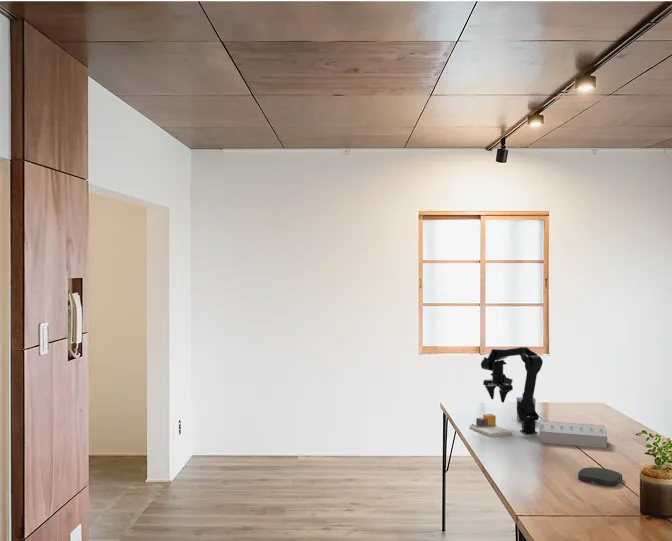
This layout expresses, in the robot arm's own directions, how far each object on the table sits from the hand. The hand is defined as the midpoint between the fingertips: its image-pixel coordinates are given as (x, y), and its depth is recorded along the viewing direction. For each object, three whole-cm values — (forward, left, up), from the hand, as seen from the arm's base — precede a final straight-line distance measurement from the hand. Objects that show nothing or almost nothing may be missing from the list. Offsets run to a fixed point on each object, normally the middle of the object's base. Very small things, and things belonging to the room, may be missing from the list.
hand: (497, 400), depth 343 cm
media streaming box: (-91, +18, -13) cm, 94 cm away
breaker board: (-13, +14, -12) cm, 23 cm away
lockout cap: (-7, +10, -10) cm, 16 cm away
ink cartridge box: (0, -19, -12) cm, 23 cm away
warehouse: (-43, -12, -13) cm, 46 cm away
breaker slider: (-7, +16, -10) cm, 20 cm away
